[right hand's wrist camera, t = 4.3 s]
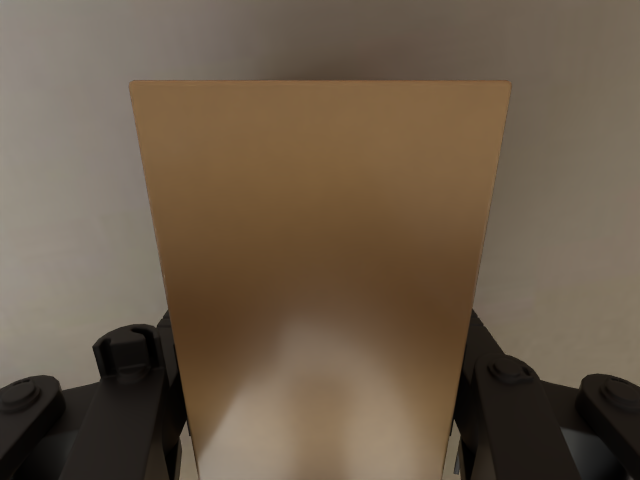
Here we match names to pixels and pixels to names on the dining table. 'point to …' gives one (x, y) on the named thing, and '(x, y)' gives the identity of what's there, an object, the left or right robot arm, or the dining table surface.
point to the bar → (320, 264)
